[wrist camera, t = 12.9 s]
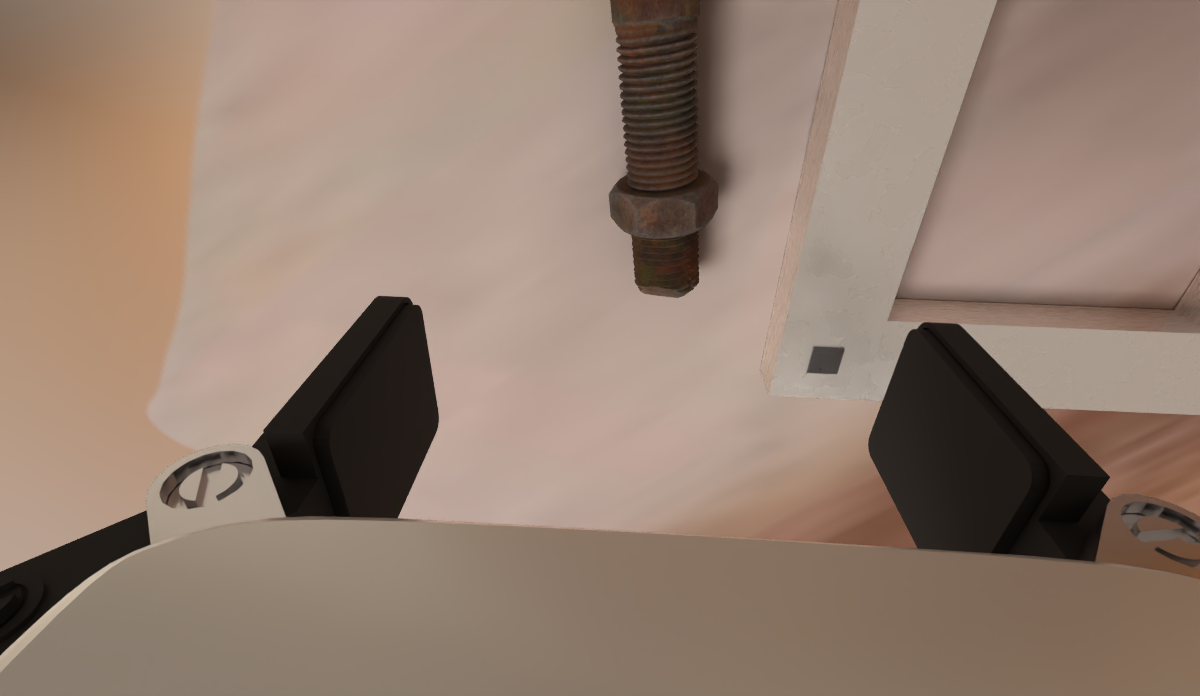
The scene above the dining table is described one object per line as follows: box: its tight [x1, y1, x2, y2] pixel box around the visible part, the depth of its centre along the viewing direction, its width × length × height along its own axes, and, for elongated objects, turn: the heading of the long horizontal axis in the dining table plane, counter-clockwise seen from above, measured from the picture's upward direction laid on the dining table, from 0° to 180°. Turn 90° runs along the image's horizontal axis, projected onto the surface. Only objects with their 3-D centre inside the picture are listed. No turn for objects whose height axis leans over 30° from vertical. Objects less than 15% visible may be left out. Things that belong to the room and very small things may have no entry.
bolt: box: [609, 0, 718, 298], centre depth 24 cm, size 6×5×15 cm
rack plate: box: [760, 0, 1200, 415], centre depth 25 cm, size 26×26×3 cm
